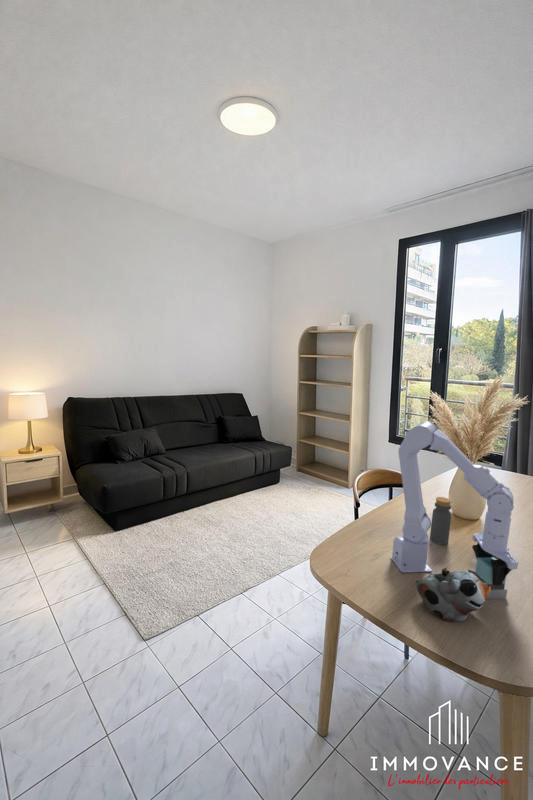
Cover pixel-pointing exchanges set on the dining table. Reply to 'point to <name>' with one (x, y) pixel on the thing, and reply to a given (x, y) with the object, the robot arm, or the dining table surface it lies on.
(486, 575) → the sleeve
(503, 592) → the block
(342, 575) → the dining table surface
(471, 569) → the peg board
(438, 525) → the bottle
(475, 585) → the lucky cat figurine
